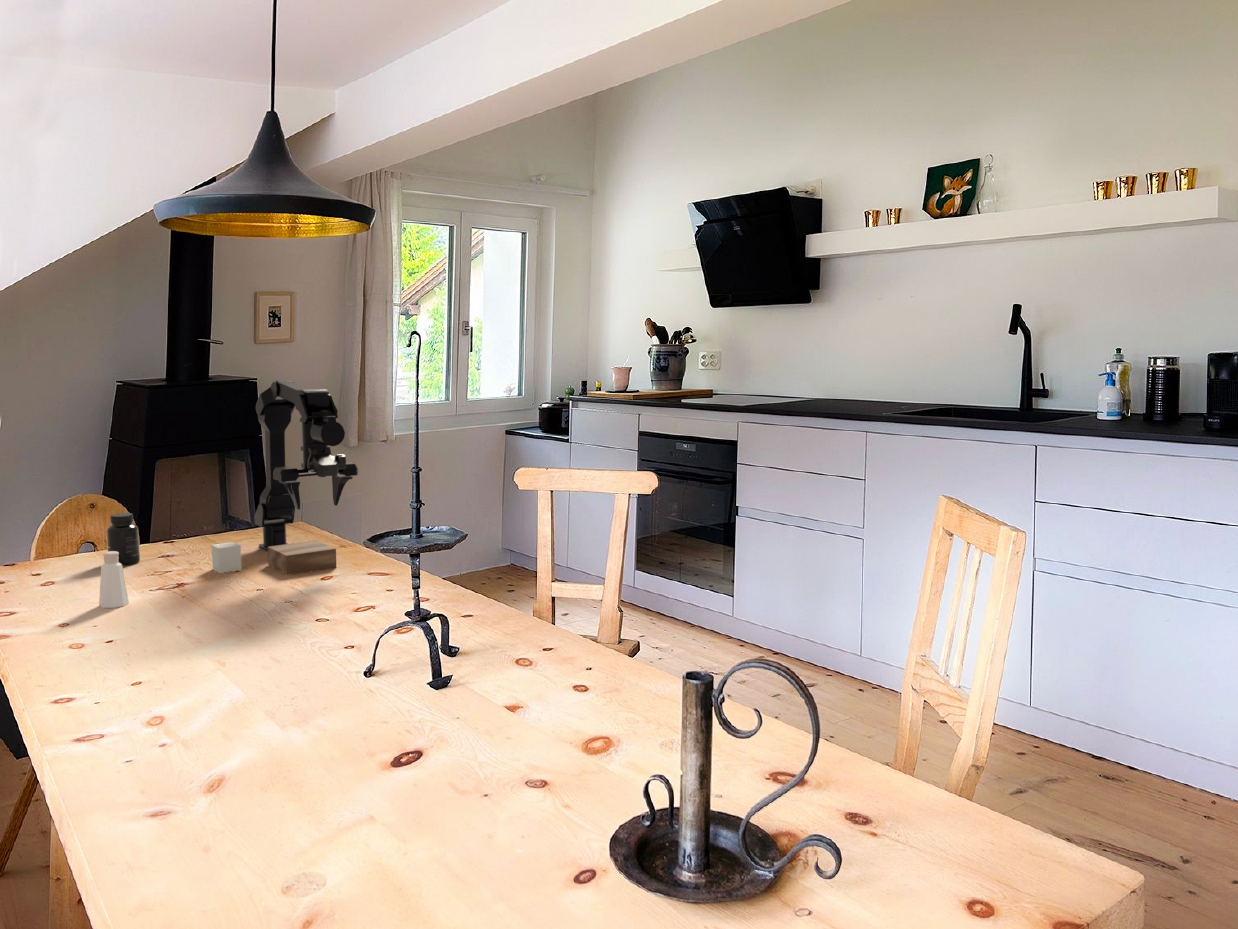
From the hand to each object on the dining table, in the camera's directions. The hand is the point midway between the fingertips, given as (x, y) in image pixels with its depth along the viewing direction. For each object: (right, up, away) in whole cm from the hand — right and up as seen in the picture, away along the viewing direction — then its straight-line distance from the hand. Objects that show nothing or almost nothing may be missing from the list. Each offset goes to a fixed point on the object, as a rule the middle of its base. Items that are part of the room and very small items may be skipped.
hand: (317, 507), depth 226 cm
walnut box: (-4, -15, +3) cm, 16 cm away
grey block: (-21, -15, -1) cm, 26 cm away
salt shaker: (-32, -19, -31) cm, 48 cm away
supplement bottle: (-48, -14, +4) cm, 50 cm away
